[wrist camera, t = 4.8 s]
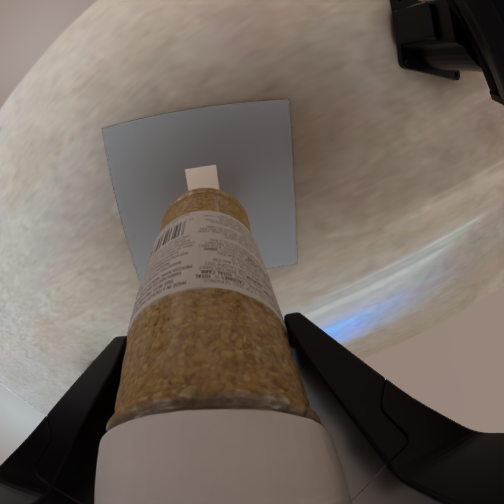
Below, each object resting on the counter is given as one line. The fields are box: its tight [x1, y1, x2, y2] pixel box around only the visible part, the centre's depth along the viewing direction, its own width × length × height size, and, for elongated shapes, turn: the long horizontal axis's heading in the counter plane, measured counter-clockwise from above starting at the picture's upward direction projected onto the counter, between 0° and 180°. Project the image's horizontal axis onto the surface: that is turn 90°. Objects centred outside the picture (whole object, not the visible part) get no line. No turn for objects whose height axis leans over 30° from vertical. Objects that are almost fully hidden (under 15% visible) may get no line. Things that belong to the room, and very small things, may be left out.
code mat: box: [102, 99, 297, 284], centre depth 19 cm, size 12×12×1 cm
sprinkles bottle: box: [94, 188, 352, 504], centre depth 9 cm, size 5×5×14 cm
